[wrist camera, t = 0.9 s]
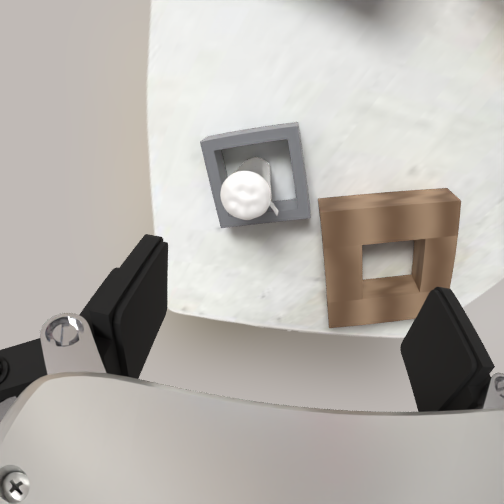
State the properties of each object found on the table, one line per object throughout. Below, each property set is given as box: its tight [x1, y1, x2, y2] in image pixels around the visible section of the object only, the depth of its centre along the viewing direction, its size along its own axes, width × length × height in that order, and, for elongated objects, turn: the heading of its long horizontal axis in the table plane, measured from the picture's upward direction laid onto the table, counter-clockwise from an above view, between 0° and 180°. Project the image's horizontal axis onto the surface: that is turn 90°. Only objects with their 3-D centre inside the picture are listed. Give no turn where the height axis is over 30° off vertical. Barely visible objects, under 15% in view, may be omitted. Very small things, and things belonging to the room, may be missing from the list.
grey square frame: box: [200, 122, 311, 228], centre depth 34 cm, size 10×10×3 cm
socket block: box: [318, 188, 461, 328], centre depth 37 cm, size 16×16×4 cm
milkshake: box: [220, 157, 279, 220], centre depth 31 cm, size 4×5×10 cm
